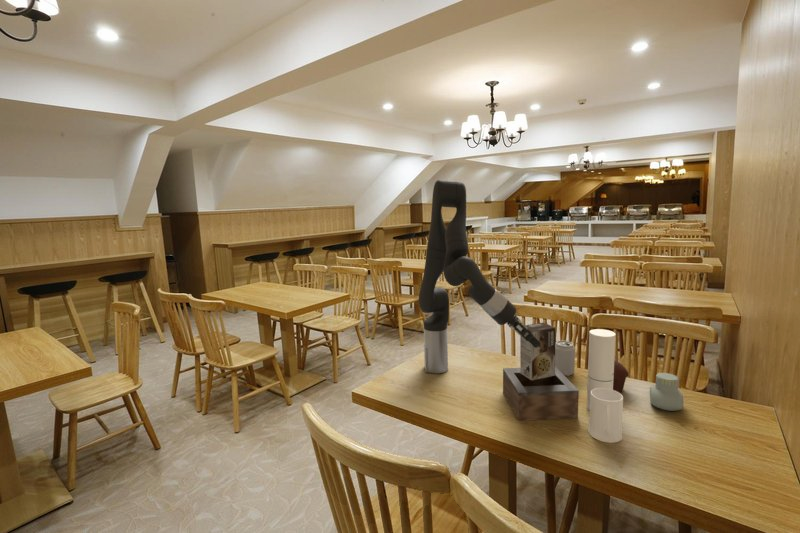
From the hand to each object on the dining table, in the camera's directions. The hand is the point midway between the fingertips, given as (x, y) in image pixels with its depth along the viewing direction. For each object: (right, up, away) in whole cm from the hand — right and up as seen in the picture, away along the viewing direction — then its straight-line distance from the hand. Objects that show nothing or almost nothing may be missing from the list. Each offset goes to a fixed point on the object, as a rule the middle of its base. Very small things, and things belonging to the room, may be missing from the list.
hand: (533, 340), depth 126 cm
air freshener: (+42, -21, 0) cm, 46 cm away
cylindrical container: (+21, -22, 0) cm, 30 cm away
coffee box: (+2, -11, +2) cm, 12 cm away
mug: (+15, -24, -15) cm, 32 cm away
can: (+20, -17, +26) cm, 37 cm away
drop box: (+2, -21, +3) cm, 22 cm away
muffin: (+30, -19, +12) cm, 38 cm away
